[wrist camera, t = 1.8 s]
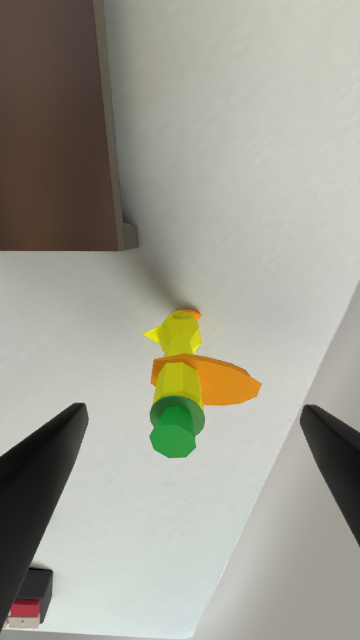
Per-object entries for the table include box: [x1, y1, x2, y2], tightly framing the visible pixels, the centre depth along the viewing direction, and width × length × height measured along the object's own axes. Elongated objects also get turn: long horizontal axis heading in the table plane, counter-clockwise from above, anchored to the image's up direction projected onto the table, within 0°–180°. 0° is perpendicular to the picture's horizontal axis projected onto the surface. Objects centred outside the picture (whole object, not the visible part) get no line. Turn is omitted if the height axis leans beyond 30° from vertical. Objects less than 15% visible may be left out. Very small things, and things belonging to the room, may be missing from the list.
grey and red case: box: [3, 570, 53, 628], centre depth 35 cm, size 11×4×15 cm
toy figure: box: [142, 309, 261, 458], centre depth 13 cm, size 7×4×12 cm, turn 81°
